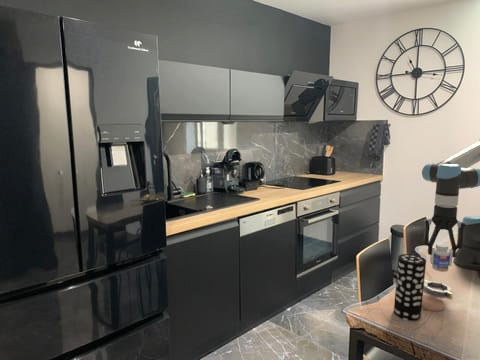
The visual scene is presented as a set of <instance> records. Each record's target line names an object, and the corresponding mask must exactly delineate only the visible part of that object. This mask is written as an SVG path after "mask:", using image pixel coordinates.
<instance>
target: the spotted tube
mask: <svg viewBox="0 0 480 360" xmlns="http://www.w3.org/2000/svg"><path fill="white" fill-rule="evenodd" d="M426 265H427V260H426V259H425V258H424V257H421V256H419V255H416V254H410V253H409V254H408V253H402V254H399V255H398V258H397V269H396V281H395V291H394V306H393V313H394V315H395V316H396V317H398V318H399V319H401V320H404V321H409V322H417V321H419V320H421V318H422V309H423V308H422V299H423V295H424V280H425V279H426V278H425V275H426V269H427V268H426V267H427V266H426Z"/></svg>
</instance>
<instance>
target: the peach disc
mask: <svg viewBox="0 0 480 360" xmlns="http://www.w3.org/2000/svg"><path fill="white" fill-rule="evenodd" d="M445 306H446V305H445V302H444V301H443V300H441V299H440V298H438V297H435V296H433V295H428V294H423V299H422V309H423V310H425V311H430V312H441V311H443V310H445V308H446V307H445Z"/></svg>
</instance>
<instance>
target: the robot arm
mask: <svg viewBox="0 0 480 360" xmlns="http://www.w3.org/2000/svg"><path fill="white" fill-rule="evenodd" d="M479 162H480V139H479V140H478V141H477V142H475V143H473V144H471V145H469V146H468V147H466V148H464V149H462V150H461V151H458V152H457V153H455V154H453V155H451V156H449V157H447V158H446V159H444V160H442V161H439V162H438V163H427V164H425V165H424V166H423V167H422V170H421V175H422V178H423V180H425V181H427V182H431V183H436V185H435V194H434V195H435V196H434V204H435V205H434V206H433V216H432V217H431V218H424V220H423V221H424V231H423V232H424V234H423V240H422V242H423V245H424V246H427V254H428V256H429V257H430V259H429V262H430V264H431V265H432V264H433V261H434V250H435V249H436V247H435V246H434V244H435V242H436V239H437V237H438V235H439V233H440V232H441V230H445V231H447V233H448V236H449V241H450V246H451V247H449V246H448V252H449V253H450V256H449V266H448V267H452V262H453V263H454V264H456V265H457V266H459V267H462V268H464V269H469V270H474V271H478V270H480V215H474V214H473V215H466V216H464V217H463V218H462V221H460V220H458V219H457V216H458V205H459V195H460V194H459V193H460V190H462V189H463V190H464V189H470V188H471V189H474V188H479V187H480V168H479V167H472V166H474V165H475V164H478V163H479ZM432 223H433V224H434V229H433V231H432V234H431V236H430V235H429V234H430V229H431V228H430V226H431V225H432ZM455 226H457V237H456V238H457V239H455V237H454V232H453V231H454V230H453V228H454V227H455ZM429 237H430V239H429ZM456 240H457V241H456Z"/></svg>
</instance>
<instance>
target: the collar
mask: <svg viewBox="0 0 480 360" xmlns="http://www.w3.org/2000/svg"><path fill="white" fill-rule="evenodd" d="M432 287H436V288H440V289H443V290H439V289H434V288H432ZM451 287H452V286H449V285H447V284H445V283H444V282H440V281H434V280H427V279H424V288H423V291H425V292H427V293H428V294H430V295H432V296H433V295H434V296H439V297H448V298H449V299H450V298H453V292H452V289H451Z"/></svg>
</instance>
